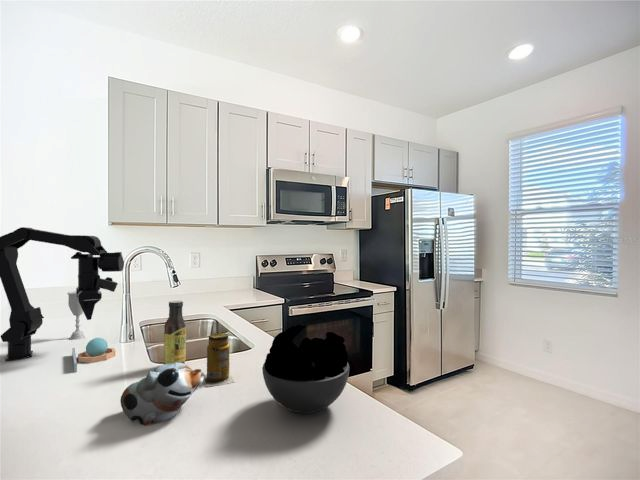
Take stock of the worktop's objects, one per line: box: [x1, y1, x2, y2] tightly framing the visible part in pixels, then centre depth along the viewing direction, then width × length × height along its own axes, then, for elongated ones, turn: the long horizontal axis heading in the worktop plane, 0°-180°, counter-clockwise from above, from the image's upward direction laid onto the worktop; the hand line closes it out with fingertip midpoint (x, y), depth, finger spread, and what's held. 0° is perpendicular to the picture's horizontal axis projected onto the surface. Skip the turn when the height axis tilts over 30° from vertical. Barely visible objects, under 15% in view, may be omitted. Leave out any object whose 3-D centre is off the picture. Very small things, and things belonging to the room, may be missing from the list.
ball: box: [85, 337, 109, 357], centre depth 109 cm, size 6×6×6 cm
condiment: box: [203, 332, 235, 387], centre depth 92 cm, size 7×8×12 cm
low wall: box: [71, 347, 78, 373], centre depth 103 cm, size 18×1×2 cm, turn 38°
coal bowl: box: [262, 324, 350, 414], centre depth 76 cm, size 20×20×19 cm
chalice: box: [66, 290, 86, 340], centre depth 130 cm, size 7×7×18 cm
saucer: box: [77, 347, 116, 364], centre depth 109 cm, size 10×10×2 cm
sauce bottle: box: [162, 300, 187, 365], centre depth 101 cm, size 7×6×20 cm
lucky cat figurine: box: [119, 362, 206, 427], centre depth 74 cm, size 15×12×14 cm
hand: (88, 317), depth 114 cm, fingers open, 9 cm apart
